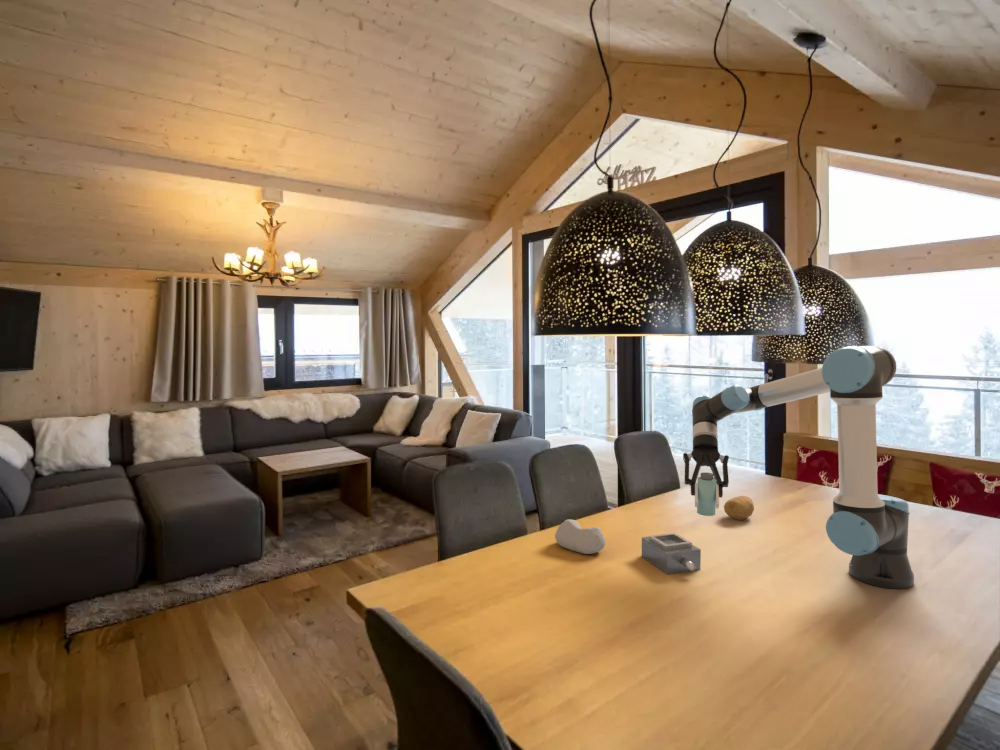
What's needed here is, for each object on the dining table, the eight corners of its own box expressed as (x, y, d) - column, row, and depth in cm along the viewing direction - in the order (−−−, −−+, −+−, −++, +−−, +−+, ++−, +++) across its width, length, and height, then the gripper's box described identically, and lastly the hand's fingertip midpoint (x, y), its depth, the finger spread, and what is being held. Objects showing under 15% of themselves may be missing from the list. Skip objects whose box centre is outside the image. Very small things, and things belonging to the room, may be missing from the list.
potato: (760, 516, 213) (760, 495, 212) (745, 526, 203) (745, 503, 202) (733, 511, 220) (734, 490, 219) (718, 520, 210) (718, 498, 209)
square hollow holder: (709, 575, 162) (709, 550, 162) (675, 580, 159) (675, 554, 159) (669, 549, 181) (669, 527, 181) (638, 554, 178) (638, 531, 178)
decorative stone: (546, 538, 185) (559, 510, 188) (562, 548, 192) (574, 521, 194) (588, 557, 173) (601, 526, 175) (604, 567, 179) (616, 537, 182)
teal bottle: (719, 515, 170) (719, 475, 169) (703, 516, 169) (704, 476, 168) (708, 509, 175) (709, 471, 174) (693, 511, 174) (694, 472, 173)
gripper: (734, 447, 182) (739, 514, 168) (675, 444, 188) (674, 509, 173) (736, 434, 177) (741, 501, 163) (675, 431, 182) (674, 496, 168)
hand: (706, 505), depth 168 cm, fingers closed on teal bottle, 5 cm apart
